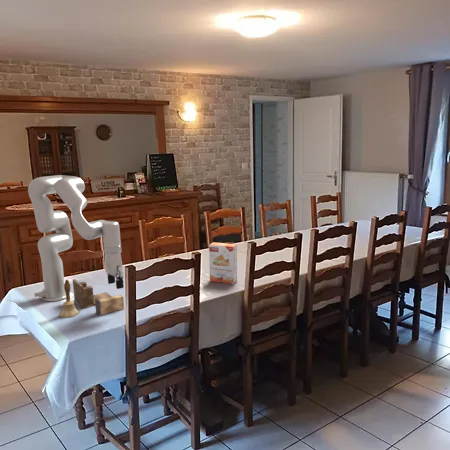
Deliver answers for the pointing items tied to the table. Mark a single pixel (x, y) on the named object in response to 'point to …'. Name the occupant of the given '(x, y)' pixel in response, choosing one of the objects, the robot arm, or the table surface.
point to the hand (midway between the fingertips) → (115, 285)
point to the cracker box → (223, 262)
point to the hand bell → (68, 303)
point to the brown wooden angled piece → (86, 294)
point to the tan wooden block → (109, 304)
